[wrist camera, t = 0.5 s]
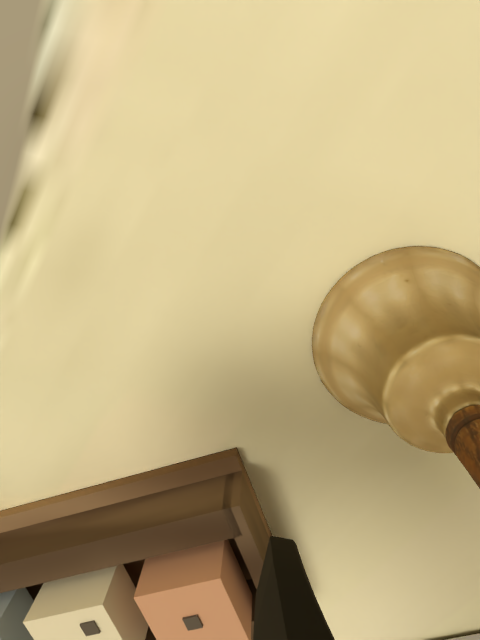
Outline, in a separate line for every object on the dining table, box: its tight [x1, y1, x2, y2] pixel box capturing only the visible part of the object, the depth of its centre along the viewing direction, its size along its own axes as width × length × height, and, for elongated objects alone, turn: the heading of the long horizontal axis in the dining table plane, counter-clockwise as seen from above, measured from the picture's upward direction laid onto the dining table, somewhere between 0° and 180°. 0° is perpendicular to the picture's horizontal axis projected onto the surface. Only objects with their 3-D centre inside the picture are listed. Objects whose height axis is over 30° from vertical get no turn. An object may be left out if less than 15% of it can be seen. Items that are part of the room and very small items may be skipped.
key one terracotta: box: [134, 539, 252, 640], centre depth 21 cm, size 4×4×3 cm
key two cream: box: [23, 564, 149, 640], centre depth 22 cm, size 4×4×3 cm
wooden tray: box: [0, 448, 272, 640], centre depth 24 cm, size 10×18×3 cm, turn 109°
